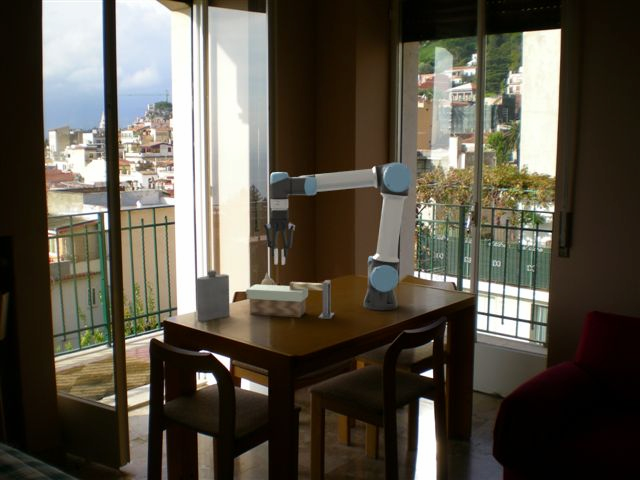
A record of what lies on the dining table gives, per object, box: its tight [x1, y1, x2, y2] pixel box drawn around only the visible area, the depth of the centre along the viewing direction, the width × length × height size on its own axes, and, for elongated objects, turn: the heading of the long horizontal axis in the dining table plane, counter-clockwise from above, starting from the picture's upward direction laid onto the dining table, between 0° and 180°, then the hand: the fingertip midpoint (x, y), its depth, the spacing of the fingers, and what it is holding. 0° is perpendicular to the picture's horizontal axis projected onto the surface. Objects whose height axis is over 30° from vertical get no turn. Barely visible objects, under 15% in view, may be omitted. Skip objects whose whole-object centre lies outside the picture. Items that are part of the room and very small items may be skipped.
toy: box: [245, 272, 278, 295], centre depth 311 cm, size 6×15×15 cm, turn 78°
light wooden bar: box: [289, 281, 323, 292], centre depth 291 cm, size 15×3×3 cm, turn 76°
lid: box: [246, 283, 309, 302], centre depth 295 cm, size 24×11×4 cm, turn 76°
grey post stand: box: [318, 279, 335, 320], centre depth 290 cm, size 5×8×15 cm, turn 166°
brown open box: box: [249, 298, 306, 318], centre depth 295 cm, size 22×9×7 cm, turn 76°
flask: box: [196, 269, 230, 322], centre depth 286 cm, size 15×6×20 cm, turn 133°
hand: (279, 264), depth 293 cm, fingers open, 3 cm apart
